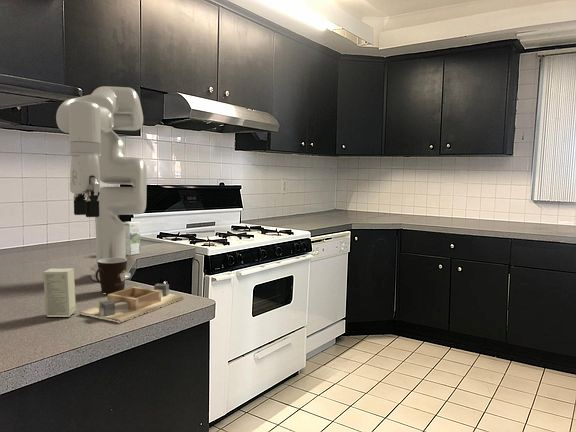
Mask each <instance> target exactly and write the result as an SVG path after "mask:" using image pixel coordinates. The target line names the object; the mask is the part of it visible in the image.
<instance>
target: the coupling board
mask: <svg viewBox="0 0 576 432" xmlns="http://www.w3.org/2000/svg"><path fill="white" fill-rule="evenodd" d="M106 296H107V297H106V298H107V299H106V300H102V301H99V304H98V305H95V306H93V307H89V308H87V309H82V310H80V311H79V313H80V312H81V313H85V314H90V315H95V316H98V317H103V318H107V319H112V320H115V321H119V322H121V321H124V320H126V319H129V318H132V317H135V316H137V315H140V314H142V313H145V312H148V311H151V310H154V309H157V308H160V307H162V308H164V307H163V306H165V305H167V306H169V305H168V304H170V305H172V304H171V303H173V302H175V303H177V302H176V301H178V302H180V301H183V300H184V295H179V294H172V293H170V284H169V283H156V284H154V285H153V288H151V289H150V288H146V287H138V286H131V287H129V288H124V290H121V291H118V292H114V293H111V294H108V295H106ZM179 300H180V301H179ZM173 304H174V303H173ZM165 307H166V306H165ZM160 309H161V308H160ZM157 310H158V309H157Z"/></svg>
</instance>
